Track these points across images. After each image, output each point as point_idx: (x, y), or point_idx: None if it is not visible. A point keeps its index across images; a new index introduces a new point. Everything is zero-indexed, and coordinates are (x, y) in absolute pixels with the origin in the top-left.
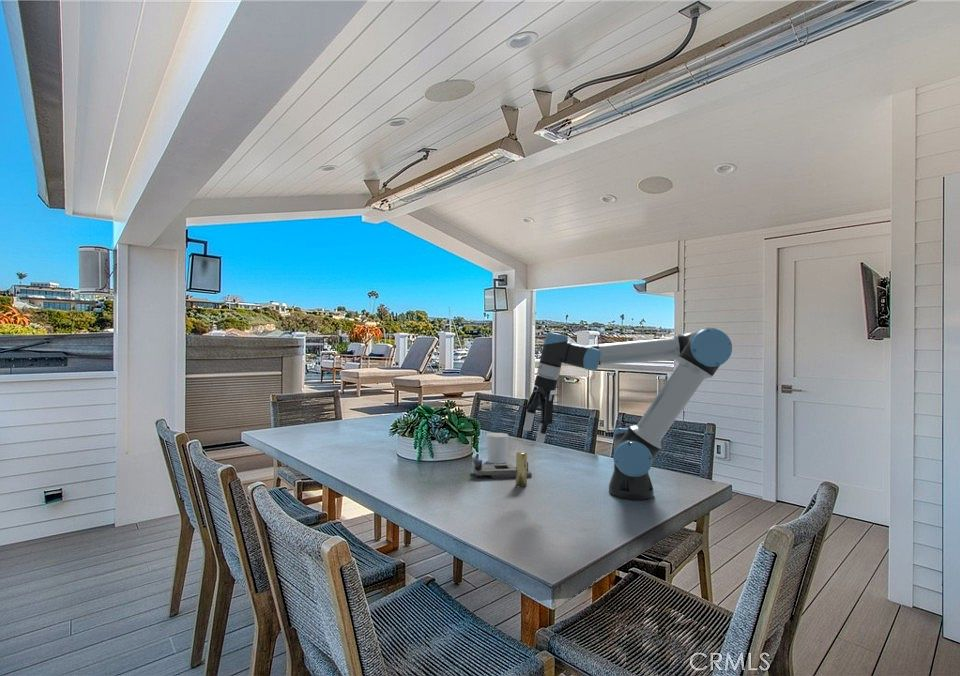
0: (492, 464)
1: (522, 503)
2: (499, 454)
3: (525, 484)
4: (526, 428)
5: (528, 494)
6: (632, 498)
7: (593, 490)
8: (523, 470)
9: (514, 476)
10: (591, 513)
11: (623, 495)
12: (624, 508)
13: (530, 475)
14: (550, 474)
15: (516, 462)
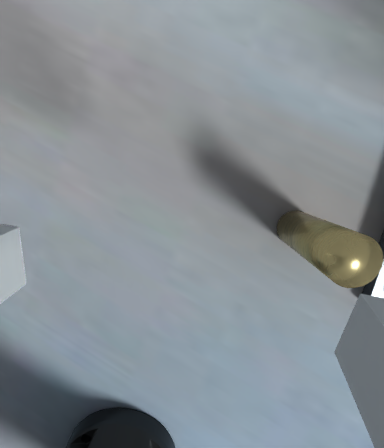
0: None
1: (136, 151)
2: None
3: (279, 235)
4: (360, 329)
5: (205, 206)
6: (75, 429)
7: (174, 388)
8: (295, 238)
9: (381, 246)
10: None
11: (87, 421)
12: (30, 374)
13: None
14: None
15: (335, 224)
